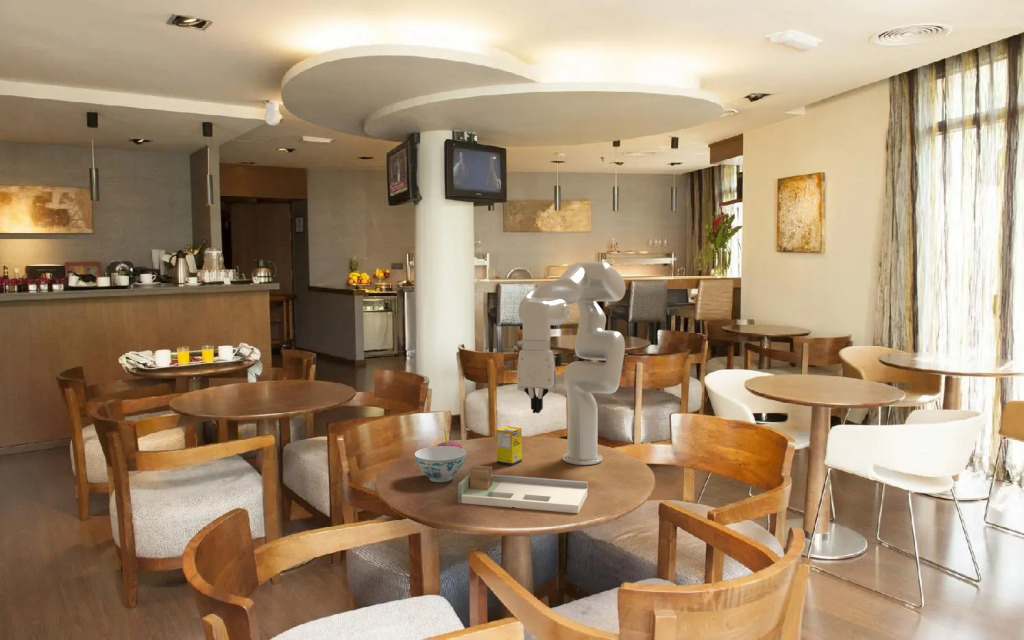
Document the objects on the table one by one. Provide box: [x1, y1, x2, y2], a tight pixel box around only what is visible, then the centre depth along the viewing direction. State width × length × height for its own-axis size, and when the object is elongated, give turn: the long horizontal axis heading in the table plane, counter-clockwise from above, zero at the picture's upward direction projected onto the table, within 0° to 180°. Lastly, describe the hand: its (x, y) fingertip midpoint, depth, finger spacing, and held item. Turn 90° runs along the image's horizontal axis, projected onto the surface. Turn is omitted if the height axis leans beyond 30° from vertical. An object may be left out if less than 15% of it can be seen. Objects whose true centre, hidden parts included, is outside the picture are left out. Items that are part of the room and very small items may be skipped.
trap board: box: [457, 473, 589, 514], centre depth 188 cm, size 15×32×5 cm, turn 75°
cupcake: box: [437, 427, 463, 449], centre depth 221 cm, size 9×8×12 cm
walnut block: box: [469, 465, 493, 490], centre depth 192 cm, size 5×5×5 cm
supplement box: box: [495, 425, 523, 466], centre depth 222 cm, size 6×6×11 cm
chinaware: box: [414, 445, 467, 483], centre depth 206 cm, size 15×15×8 cm
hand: (536, 412), depth 192 cm, fingers closed
